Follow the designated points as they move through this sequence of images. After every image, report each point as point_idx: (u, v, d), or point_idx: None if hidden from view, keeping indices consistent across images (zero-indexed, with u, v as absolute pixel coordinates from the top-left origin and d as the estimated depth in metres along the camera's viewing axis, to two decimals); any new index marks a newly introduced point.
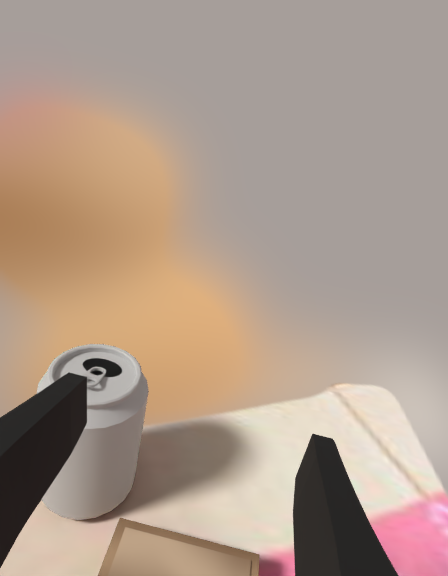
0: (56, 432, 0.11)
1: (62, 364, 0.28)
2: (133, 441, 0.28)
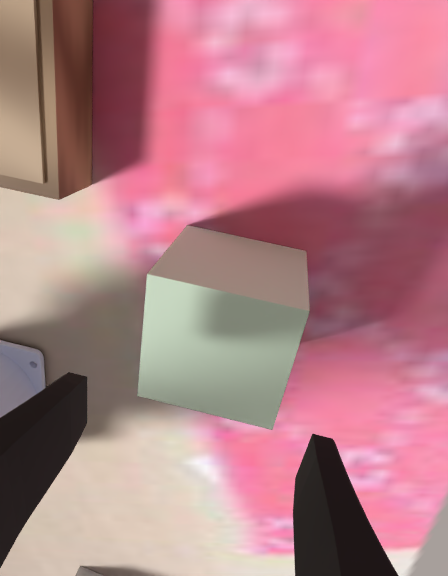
0: (56, 432, 0.11)
1: None
2: None
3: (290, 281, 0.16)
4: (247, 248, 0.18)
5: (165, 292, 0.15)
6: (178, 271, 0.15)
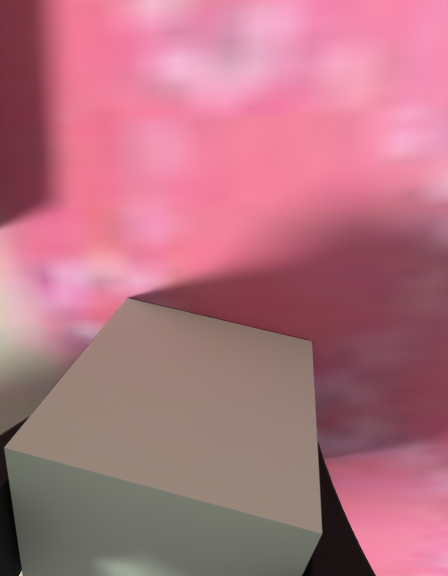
0: None
1: None
2: None
3: (285, 433, 0.09)
4: (217, 347, 0.11)
5: (43, 478, 0.08)
6: (74, 430, 0.08)
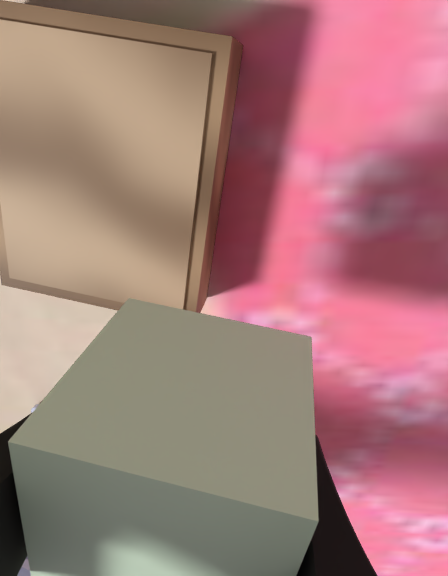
0: None
1: None
2: None
3: (283, 425, 0.09)
4: (217, 344, 0.11)
5: (46, 471, 0.08)
6: (75, 425, 0.08)
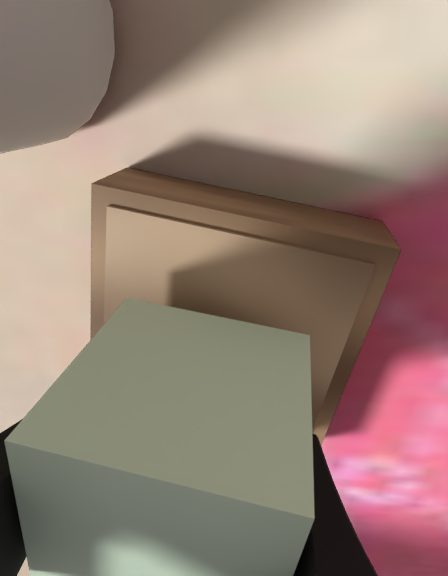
0: None
1: None
2: None
3: (280, 423, 0.09)
4: (214, 343, 0.11)
5: (42, 469, 0.08)
6: (72, 423, 0.08)
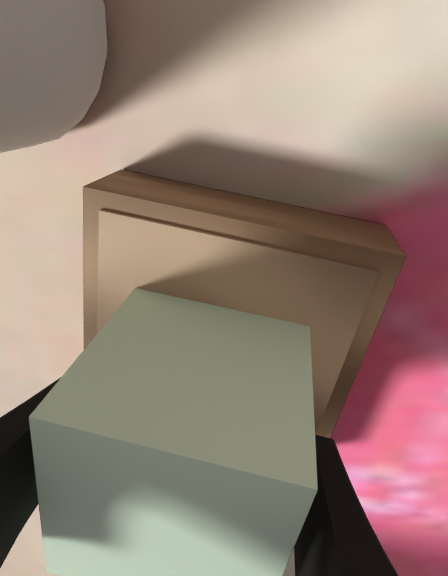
0: None
1: None
2: None
3: (284, 406, 0.09)
4: (220, 332, 0.12)
5: (63, 445, 0.08)
6: (90, 402, 0.09)
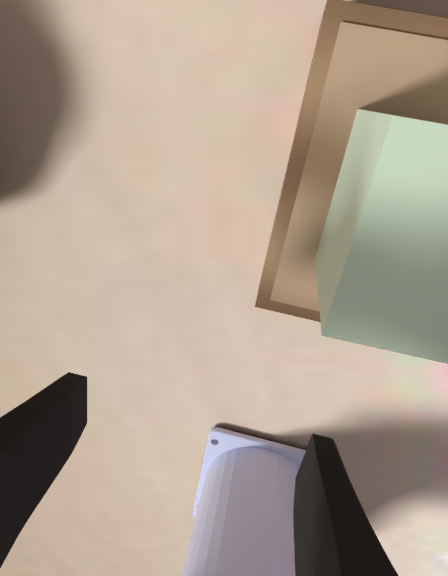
0: (56, 432, 0.11)
1: None
2: None
3: None
4: None
5: (416, 148, 0.09)
6: None
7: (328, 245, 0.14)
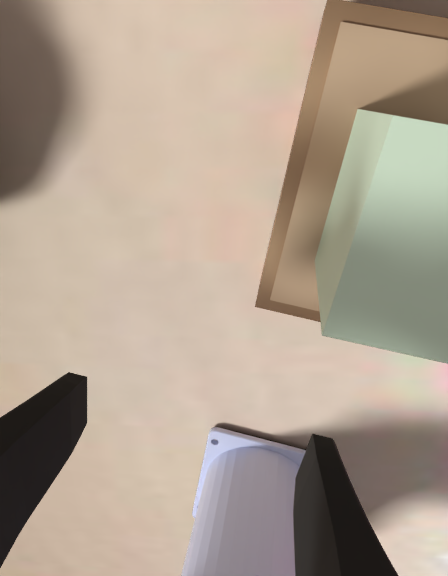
0: (56, 432, 0.11)
1: None
2: None
3: None
4: None
5: (416, 148, 0.09)
6: None
7: (328, 245, 0.14)
